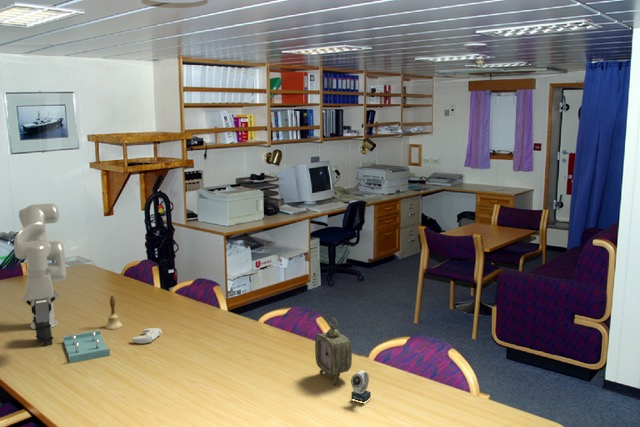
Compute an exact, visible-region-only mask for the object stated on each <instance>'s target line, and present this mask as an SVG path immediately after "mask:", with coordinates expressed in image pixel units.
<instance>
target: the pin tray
mask: <svg viewBox="0 0 640 427" xmlns="http://www.w3.org/2000/svg"><path fill="white" fill-rule="evenodd" d="M62 337H63V344H64V347H65V350H66V353H67V355H68V356H67V357H68V360H69V363H70V364H73V363H78V362H83V361H87V360H94V359H98V358H105V357H108V356H111V353H110V352H111V351H110V350H111V349H110V347H107V344H106V343H105V340H104V338H103V337H102V334H101V330H100V329H98V330H91V331H87V332H82V333H75V334H70V335H64V336H62Z"/></svg>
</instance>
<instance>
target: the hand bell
mask: <svg viewBox="0 0 640 427" xmlns="http://www.w3.org/2000/svg"><path fill="white" fill-rule="evenodd" d="M109 305H110V308H111V310H110V312H111V313H110V315H108V319H107V323H106V325H105V326H104V329H106V330H118V329H120V328H122V327H123V323H121V322H120V319H119V316H118V314H116V313H115V312H116V310H115V307H116V298H115V297H114V295H110V298H109Z"/></svg>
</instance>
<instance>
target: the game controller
mask: <svg viewBox="0 0 640 427" xmlns="http://www.w3.org/2000/svg"><path fill="white" fill-rule="evenodd" d="M142 332H143V335H138V336H134V337H132V338H131V339H132V340H131V341H132V342H133V343H135V344H138V345H139V344H140V345H141V344H144V345H145V344H148V343H149V344H150V343H152V342H153V341H154V340H155V339H156V338H158V337H160V336H161V335H162V334H163V331H162V329H161V328H158V327H150V328H145V329H143V330H142Z"/></svg>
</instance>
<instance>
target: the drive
mask: <svg viewBox="0 0 640 427" xmlns="http://www.w3.org/2000/svg"><path fill="white" fill-rule="evenodd" d="M34 305H35V312H36V315H35V316H36V321H37V323H39V322H45V321H50V318H49V306H48V300H47V298H44V299H37V300H35V302H34Z"/></svg>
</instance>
